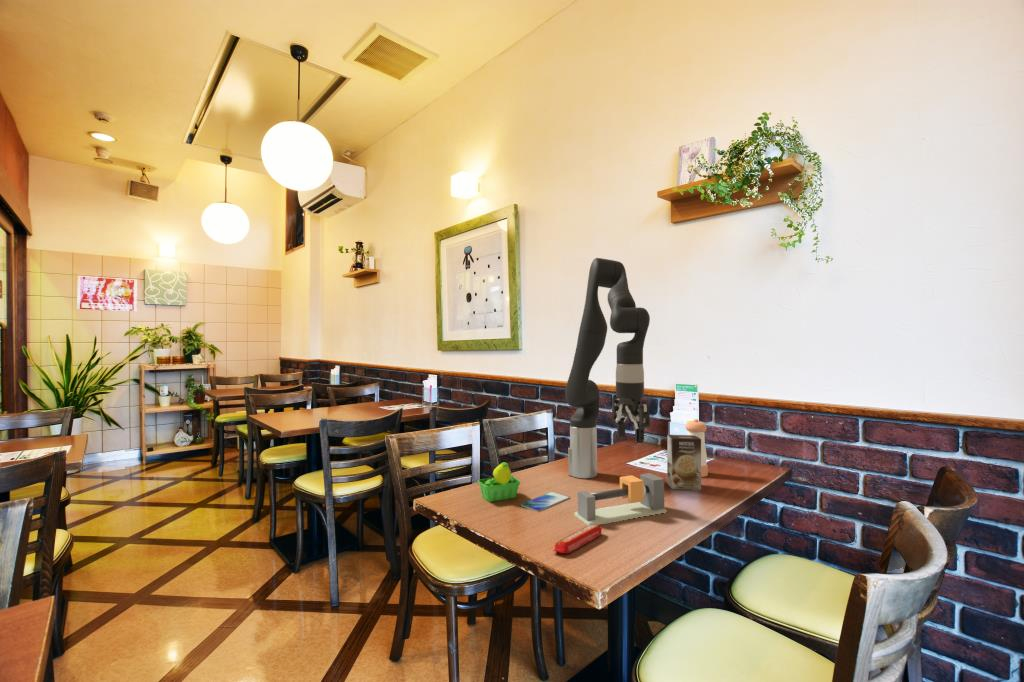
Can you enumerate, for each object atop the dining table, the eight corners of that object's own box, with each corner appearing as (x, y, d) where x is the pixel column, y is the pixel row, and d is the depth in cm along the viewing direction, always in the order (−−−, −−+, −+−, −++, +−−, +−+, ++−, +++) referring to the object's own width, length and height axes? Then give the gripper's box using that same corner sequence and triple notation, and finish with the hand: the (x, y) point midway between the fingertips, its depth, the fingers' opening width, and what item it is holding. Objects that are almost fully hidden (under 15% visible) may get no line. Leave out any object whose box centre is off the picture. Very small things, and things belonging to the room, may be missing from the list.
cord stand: (589, 526, 116) (588, 491, 116) (574, 515, 123) (573, 482, 123) (666, 513, 124) (666, 480, 124) (648, 503, 131) (647, 472, 131)
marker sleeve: (630, 503, 122) (630, 482, 122) (619, 497, 127) (619, 476, 127) (643, 501, 123) (643, 480, 123) (632, 495, 128) (631, 475, 128)
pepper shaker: (683, 470, 163) (682, 417, 163) (704, 471, 162) (703, 417, 162) (688, 476, 156) (687, 421, 156) (710, 477, 155) (709, 421, 155)
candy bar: (591, 532, 113) (591, 520, 113) (604, 536, 111) (604, 524, 111) (550, 554, 102) (550, 541, 102) (563, 559, 99) (563, 546, 99)
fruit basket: (510, 490, 144) (510, 455, 144) (523, 499, 136) (523, 461, 136) (477, 496, 139) (476, 459, 139) (488, 505, 131) (487, 466, 131)
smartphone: (571, 497, 137) (538, 511, 126) (571, 499, 137) (538, 514, 126) (552, 491, 142) (519, 503, 131) (552, 493, 142) (519, 507, 131)
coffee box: (671, 489, 143) (671, 438, 143) (666, 483, 150) (666, 434, 150) (702, 490, 142) (701, 438, 142) (695, 483, 149) (695, 434, 149)
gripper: (657, 382, 119) (658, 443, 120) (626, 377, 133) (626, 433, 133) (633, 383, 117) (633, 446, 117) (604, 378, 130) (604, 435, 130)
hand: (630, 439), depth 125 cm, fingers open, 8 cm apart
